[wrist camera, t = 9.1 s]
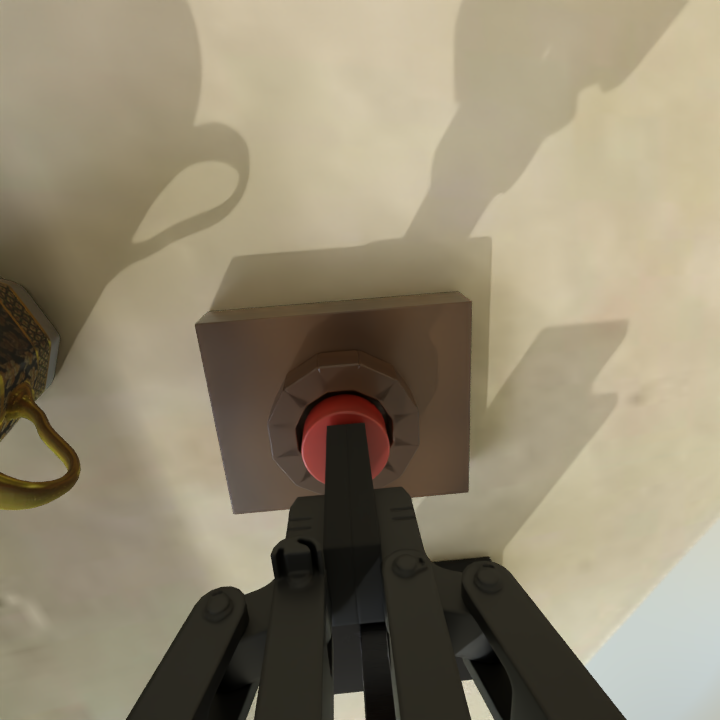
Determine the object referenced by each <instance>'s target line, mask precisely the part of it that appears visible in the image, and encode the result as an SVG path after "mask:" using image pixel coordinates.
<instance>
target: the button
mask: <svg viewBox="0 0 720 720" xmlns="http://www.w3.org/2000/svg"><path fill="white" fill-rule="evenodd" d="M353 423H365V428H366V436H367V443H368V451H369V458H370V466H371V473H372V480H373V479H374V478H375V477H376V476H377V475H379V473H380V472H381V471H382V470H383V468H384V467H385V465H386V463H387V461H388V458H389V453H390V444H389V439H388V434H387V430H386V425H385V422H384V418H383V416H382V414H381V412H380V411H379V410H378V408H377V407H376V406H375V405H374V404H373V403H371V402H370V401H368V400H367V399H365V398H362V397H359V396H356V395H350V394H340V395H335V396H331V397H328V398H326V399H324V400H322V401H321V402H319V403H318V404H317V405H315V406H314V407H313V408H312V410H311V411H310V412H309V414H308V416H307V418H306V420H305V424H304V429H303V438H302V446H301V455H302V459H303V462H304V465H305V466H306V468H307V470H308V471H309V472H310V474H311V475H312V476H313V477H314V478H316V479H317V480H318V481H320V482H322V483H324V484H325V465H326V433H327V426H330V425H342V424H353Z"/></svg>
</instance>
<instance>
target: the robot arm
mask: <svg viewBox="0 0 720 720" xmlns="http://www.w3.org/2000/svg"><path fill="white" fill-rule="evenodd" d="M271 560H272V566H273V571H274V577H275V579H274V580H273V581H272V582H271V583H269V584H268V585H266V586H265V587H263V588H261V589H259V590H256V591H254V592H251V593H248V594H246V595H244V594H243V593H242V592H241V591H240V590H239V589H237V588H234V587H231V586H230V587H220V588H217V589H214V590H212V591H210V592H208V593H207V594H205V595H204V596H203V597H201V599H200V600H199V601H198V602H197V603H196V605H195V606H194V608H193V609H192V611H191V613H190V614H189V616H188V618H187V619H186V621H185V623H184V624H183V626H182V628H181V629H180V631H179V632H178V634H177V636H176V637H175V639H174V641H173V642H172V644H171V646H170V647H169V649H168V651H167V652H166V654H165V656H164V657H163V659H162V661H161V662H160V664H159V666H158V667H157V669H156V671H155V672H154V674H153V675H152V677H151V679H150V680H149V682H148V684H147V685H146V687H145V689H144V690H143V692H142V694H141V695H140V697H139V699H138V700H137V702H136V704H135V705H134V707H133V709H132V710H131V712H130V714H129V715H128V717H127V719H126V720H246V718H247V715H248V712H249V710H250V707H251V705H252V702H253V699H254V697H255V694H256V691H257V689H258V686H259V690H258V697H257V703H256V710H255V717H254V720H334V646H333V638H332V627H333V626H343V625H353V624H363V623H373V622H383V621H385V622H386V634H387V649H388V660H389V663H390V672H391V680H392V689H393V698H394V706H395V715H396V720H471V717H470V713H469V709H468V705H467V702H466V698H465V694H464V690H463V686H462V682H461V678H460V674H459V670H458V667H457V663H456V659H455V656H456V657H461V658H462V659H463V662H464V664H465V666H466V668H467V669H468V671H469V673H470V675H471V677H472V679H473V681H474V683H475V684H476V686H477V688H478V690H479V692H480V694H481V696H482V697H483V699H484V701H485V703H486V705H487V707H488V709H489V711H490V712H491V714H492V716H493V718H494V720H626V718H625V717H624V716H623V715H622V713H621V712H620V711H619V710H618V708H617V707H616V706H615V705H614V703H613V702H612V701H611V699H610V698H609V697H608V696H607V694H606V693H605V692H604V691H603V689H602V688H601V687H600V686H599V684H598V683H597V682H596V680H595V679H594V678H593V677H592V675H590V673H589V672H588V670H587V669H586V668H585V667H584V665H583V664H582V663H581V661H580V660H579V659H578V658H577V656H576V655H575V654H574V653H573V651H572V650H571V649H570V648H569V646H568V645H567V644H566V642H565V641H564V640H563V639H562V637H561V636H560V635H559V634H558V632H557V631H556V630H555V629H554V627H553V626H552V625H551V623H550V622H549V621H548V620H547V618H546V617H545V616H544V615H543V613H542V612H541V611H540V610H539V608H538V607H537V606H536V604H535V603H534V602H533V601H532V599H531V598H530V597H529V596H528V594H527V593H526V592H525V591H524V589H523V588H522V587H521V585H520V584H519V583H518V582H517V580H516V579H515V578H514V577H513V575H512V574H511V573H510V572H509V571H508V570H507V569H506V568H504V567H503V566H501V565H499V564H497V563H495V562H490V561H477V562H473V563H471V564H470V565H468V566H467V567H466V568H465V569H464V571H463V572H458V571H452V570H448V569H444V568H441V567H439V566H437V565H436V564H434V563H433V562H432V561H430V559H429V558H428V557H427V556H426V553H425V551H424V548H423V544H422V540H421V536H420V532H419V528H418V524H417V520H416V517H415V512H414V509H413V504H412V500H411V496H410V495H409V494H408V493H407V491H406V490H405V489H404V488H403V487H391V488H380V489H374V488H373V481H372V473H371V466H370V458H369V451H368V443H367V436H366V428H365V423H353V424H342V425H330V426H327V433H326V465H325V495H315V496H304V497H297V499H296V500H295V501H294V503H293V504H292V506H291V507H290V511H289V519H288V526H287V533H286V539H284V540H282V541H280V542H279V543H278V544H277V545H276V546H275V547H274V548H273V551H272V553H271Z"/></svg>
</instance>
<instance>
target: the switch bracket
mask: <svg viewBox="0 0 720 720" xmlns="http://www.w3.org/2000/svg"><path fill="white" fill-rule="evenodd" d="M477 561H490V562H491V559H490V557H483V558H473V559H463V560H453V561H443V562H433V563H434V564H436V565H437V566H439V567H441V568H444V569H448V570H452V571H458V572H463V571H464V569H465V568H466V567H467V566H468V565H470V564H471V563H473V562H477ZM332 638H333V646H334V694H342V693H351V692H360V691H364V702H365V718H366V720H396V715H395V706H394V698H393V689H392V680H391V672H390V663H389V660H388V649H387V634H386V622H385V621H383V622H373V623H363V624H353V625H343V626H333V627H332ZM455 659H456V663H457V667H458V670H459V674H460V678H461V681H463V680H472V677H471V675H470V673H469V671H468V669H467V668H466V666H465V664H464V662H463V659H462V658H461V657H456V656H455Z"/></svg>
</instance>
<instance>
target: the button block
mask: <svg viewBox="0 0 720 720" xmlns="http://www.w3.org/2000/svg"><path fill="white" fill-rule="evenodd" d="M471 321H472V302H471V301H470V300H469V299H468V298H466V297H465V296H464V295H463V294H461V293H460V292H458V291H456V292H444V293H432V294H419V295H407V296H395V297H382V298H370V299H358V300H345V301H333V302H321V303H308V304H296V305H284V306H271V307H259V308H247V309H234V310H222V311H210V312H207V313H206V314H205V315H204V316H203V317H202V318H201V319H200V320H199V321H198V322H197V323H196V324H195V328H196V333H197V338H198V343H199V347H200V352H201V357H202V362H203V367H204V372H205V377H206V382H207V387H208V392H209V397H210V401H211V406H212V411H213V416H214V421H215V426H216V431H217V436H218V441H219V446H220V450H221V455H222V460H223V465H224V470H225V475H226V480H227V485H228V490H229V495H230V499H231V504H232V509H233V514H244V513H254V512H265V511H276V510H286V509H290V507H291V506H292V504H293V503H294V501H295V500H296V499H297V497H304V496H315V495H325V484H324V483H322V482H320V481H318V480H317V479H316V478H314V477H313V476H312V475H311V474H310V472H309V471H308V470H307V468H306V466H305V465H304V462H303V459H302V455H301V446H302V438H303V429H304V424H305V420H306V418H307V416H308V414H309V412H310V411H311V410H312V408H313V407H314V406H315V405H317V404H318V403H319V402H321V401H322V400H324V399H326V398H328V397H331V396H335V395H340V394H350V395H356V396H359V397H362V398H365V399H367V400H368V401H370V402H371V403H373V404H374V405H375V406H376V407H377V408H378V410H379V411H380V412H381V414H382V416H383V418H384V422H385V425H386V430H387V434H388V439H389V444H390V453H389V458H388V461H387V463H386V465H385V467H384V468H383V470H382V471H381V472H380V473H379V475H377V476H376V477H375V478H374V479H373V480H372V481H373V488H374V489H380V488H391V487H403V488H404V489H405V490H406V491H407V493H408V494H409V495H410V496H411V498H413V497H424V496H434V495H445V494H456V493H466V492H468V491H469V435H470V378H471Z"/></svg>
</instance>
